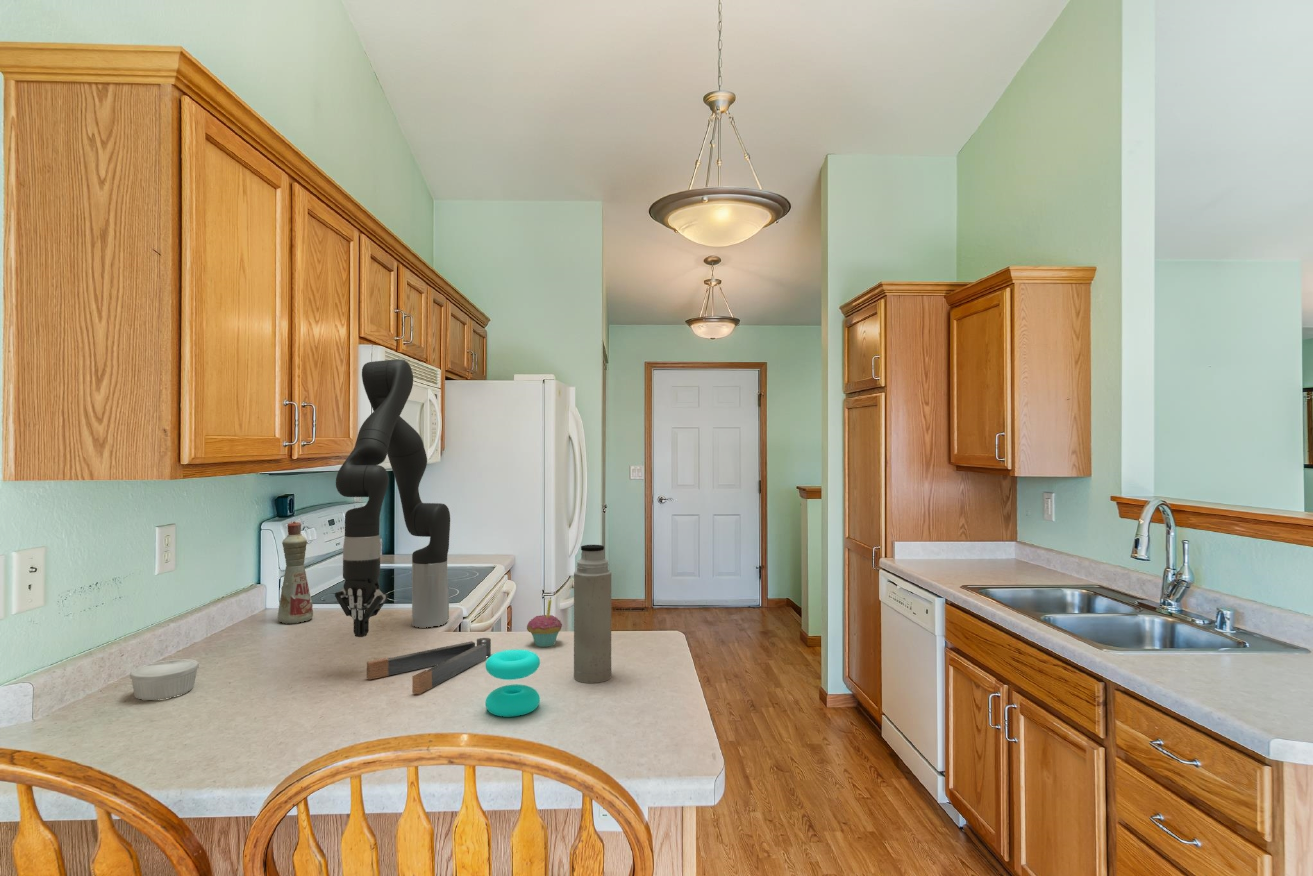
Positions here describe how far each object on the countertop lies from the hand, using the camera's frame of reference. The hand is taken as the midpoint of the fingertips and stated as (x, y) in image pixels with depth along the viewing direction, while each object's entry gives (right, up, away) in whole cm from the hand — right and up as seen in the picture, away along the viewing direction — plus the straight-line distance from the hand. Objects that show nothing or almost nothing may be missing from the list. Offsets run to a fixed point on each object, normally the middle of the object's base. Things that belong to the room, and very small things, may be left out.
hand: (360, 636), depth 150 cm
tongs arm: (+13, -8, +3) cm, 15 cm away
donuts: (+37, -8, -21) cm, 44 cm away
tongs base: (+20, -8, 0) cm, 22 cm away
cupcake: (+37, -8, +21) cm, 43 cm away
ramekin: (-34, -8, -13) cm, 37 cm away
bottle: (-37, -8, +43) cm, 58 cm away
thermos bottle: (+51, -8, -3) cm, 52 cm away
